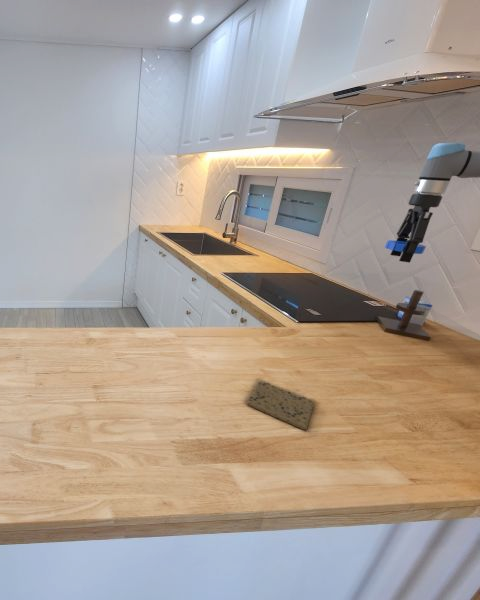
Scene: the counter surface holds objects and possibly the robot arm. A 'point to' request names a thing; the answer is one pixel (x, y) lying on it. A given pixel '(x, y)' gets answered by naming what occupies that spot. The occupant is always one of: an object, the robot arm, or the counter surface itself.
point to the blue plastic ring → (403, 246)
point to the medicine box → (417, 318)
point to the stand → (406, 319)
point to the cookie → (282, 404)
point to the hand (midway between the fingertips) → (399, 258)
